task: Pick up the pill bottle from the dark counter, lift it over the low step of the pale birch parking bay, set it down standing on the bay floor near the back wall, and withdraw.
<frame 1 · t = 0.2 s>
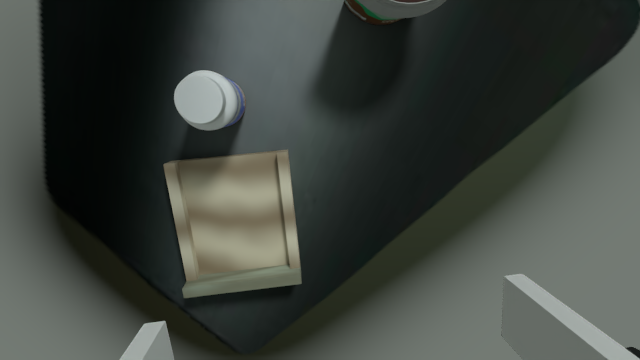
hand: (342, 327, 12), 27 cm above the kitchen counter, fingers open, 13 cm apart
pill bottle: (222, 102, 36), on the kitchen counter
food container: (393, 2, 35), on the kitchen counter
parking bay: (238, 212, 39), on the kitchen counter
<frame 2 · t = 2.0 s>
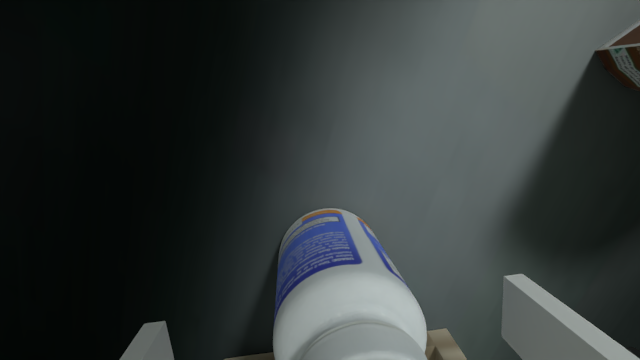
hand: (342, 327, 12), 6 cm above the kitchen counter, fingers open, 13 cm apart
pill bottle: (328, 250, 18), on the kitchen counter
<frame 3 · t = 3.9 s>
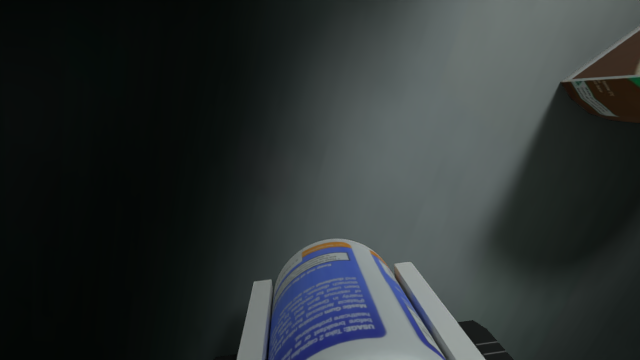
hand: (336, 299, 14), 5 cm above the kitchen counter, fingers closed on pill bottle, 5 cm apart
pill bottle: (334, 287, 15), point 4 cm above the kitchen counter, touching gripper
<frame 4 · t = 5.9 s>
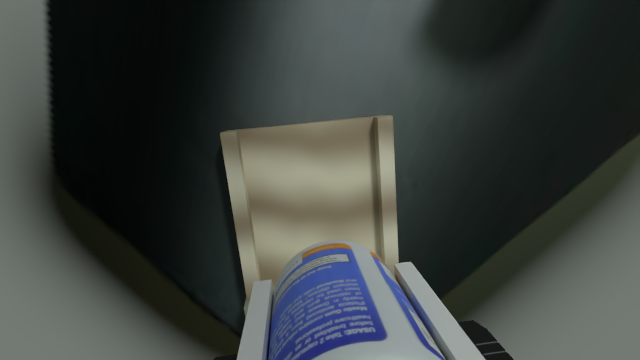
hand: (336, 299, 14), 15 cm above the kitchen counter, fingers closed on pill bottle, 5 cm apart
pill bottle: (334, 289, 15), point 14 cm above the kitchen counter, touching gripper
parking bay: (314, 201, 29), on the kitchen counter
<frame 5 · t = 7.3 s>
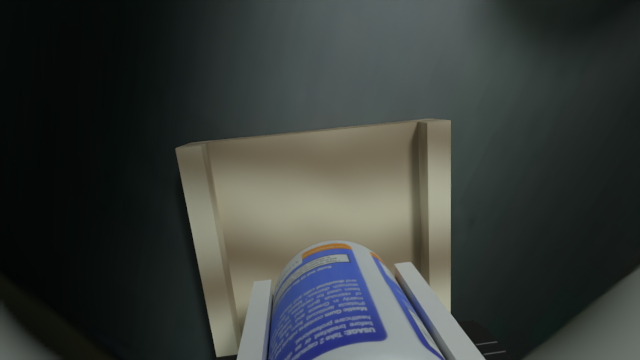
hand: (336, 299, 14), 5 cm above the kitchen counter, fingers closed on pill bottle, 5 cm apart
pill bottle: (334, 289, 15), point 5 cm above the kitchen counter, touching gripper
parking bay: (324, 246, 19), on the kitchen counter
when the fingers open (3 cm above the kitchen counter, at t = 8.2 s): pill bottle drops 1 cm, resting on parking bay.
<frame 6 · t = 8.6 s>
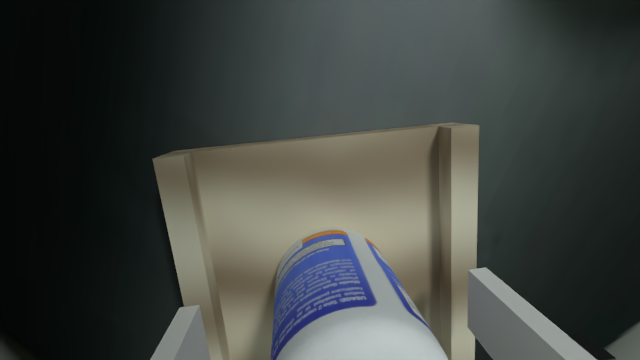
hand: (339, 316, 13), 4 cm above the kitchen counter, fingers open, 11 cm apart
pill bottle: (331, 273, 16), point 1 cm above the kitchen counter, touching parking bay
parking bay: (329, 268, 17), on the kitchen counter
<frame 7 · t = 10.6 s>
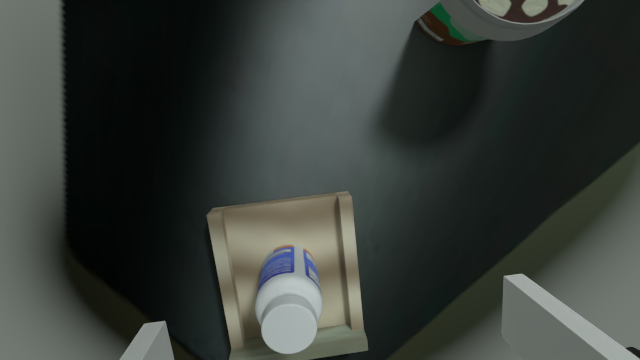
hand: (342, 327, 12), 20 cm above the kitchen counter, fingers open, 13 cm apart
pill bottle: (290, 266, 32), point 1 cm above the kitchen counter, touching parking bay
food container: (471, 20, 30), on the kitchen counter
parking bay: (289, 264, 33), on the kitchen counter
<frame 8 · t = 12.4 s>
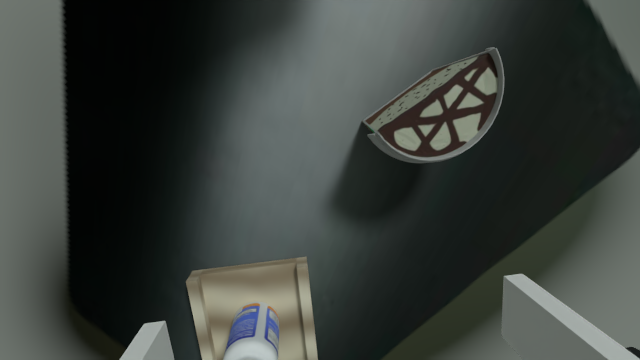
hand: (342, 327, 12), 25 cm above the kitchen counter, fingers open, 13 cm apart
pill bottle: (257, 318, 39), point 1 cm above the kitchen counter, touching parking bay
food container: (410, 118, 36), on the kitchen counter
parking bay: (258, 315, 40), on the kitchen counter
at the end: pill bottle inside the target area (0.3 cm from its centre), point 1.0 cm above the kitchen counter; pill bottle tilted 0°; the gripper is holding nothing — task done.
